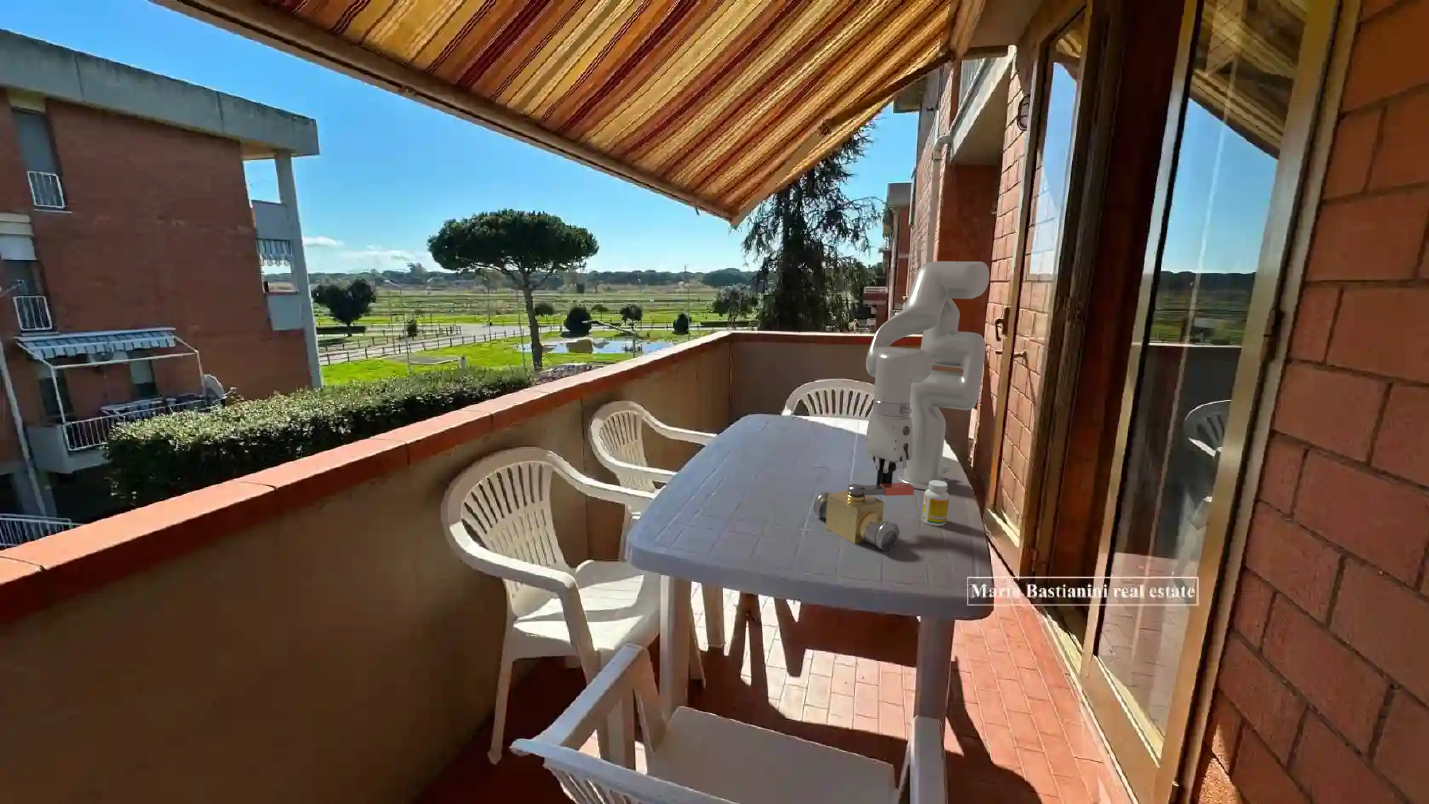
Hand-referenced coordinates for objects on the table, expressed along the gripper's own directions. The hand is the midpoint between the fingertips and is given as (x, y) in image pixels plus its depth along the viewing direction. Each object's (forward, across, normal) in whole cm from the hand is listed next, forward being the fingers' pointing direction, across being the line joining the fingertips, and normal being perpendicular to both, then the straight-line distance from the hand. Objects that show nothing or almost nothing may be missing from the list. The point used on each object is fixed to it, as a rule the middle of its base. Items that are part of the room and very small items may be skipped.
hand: (883, 487), depth 128 cm
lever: (0, -2, +3) cm, 4 cm away
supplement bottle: (+9, -4, -12) cm, 16 cm away
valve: (+9, 0, +8) cm, 12 cm away
